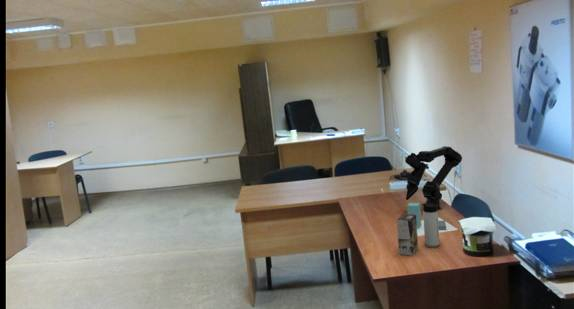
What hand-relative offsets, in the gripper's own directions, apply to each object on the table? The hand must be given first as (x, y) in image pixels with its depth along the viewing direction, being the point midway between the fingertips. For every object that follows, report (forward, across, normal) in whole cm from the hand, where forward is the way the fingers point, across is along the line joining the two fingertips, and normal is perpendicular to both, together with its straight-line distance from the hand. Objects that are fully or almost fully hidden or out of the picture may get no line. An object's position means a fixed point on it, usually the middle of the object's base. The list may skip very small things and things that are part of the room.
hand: (406, 197), depth 249 cm
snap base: (+10, +10, +20) cm, 24 cm away
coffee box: (+30, +33, +12) cm, 46 cm away
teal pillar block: (+14, +9, +10) cm, 20 cm away
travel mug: (+22, +28, +20) cm, 41 cm away
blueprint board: (+12, +9, +15) cm, 22 cm away
